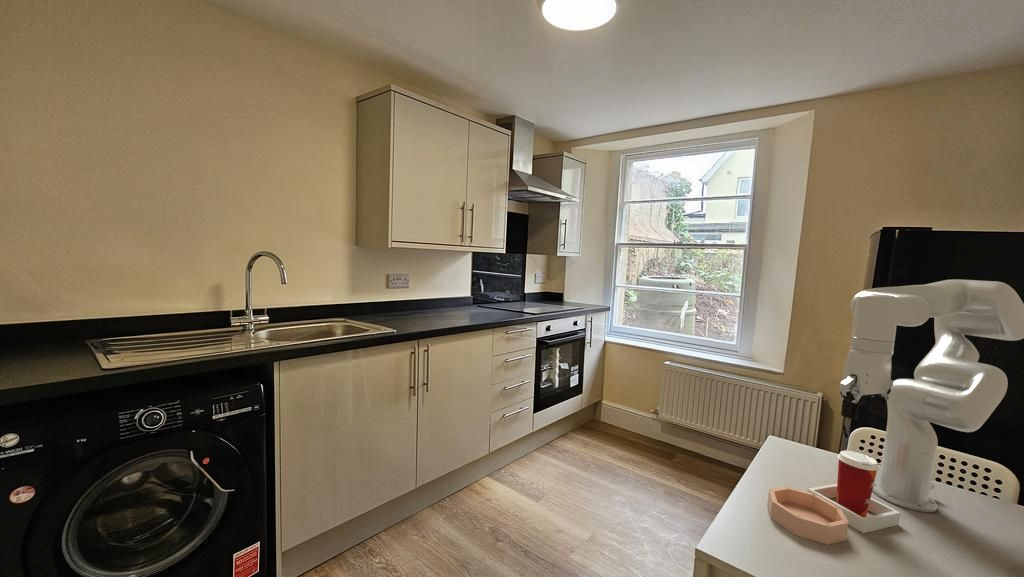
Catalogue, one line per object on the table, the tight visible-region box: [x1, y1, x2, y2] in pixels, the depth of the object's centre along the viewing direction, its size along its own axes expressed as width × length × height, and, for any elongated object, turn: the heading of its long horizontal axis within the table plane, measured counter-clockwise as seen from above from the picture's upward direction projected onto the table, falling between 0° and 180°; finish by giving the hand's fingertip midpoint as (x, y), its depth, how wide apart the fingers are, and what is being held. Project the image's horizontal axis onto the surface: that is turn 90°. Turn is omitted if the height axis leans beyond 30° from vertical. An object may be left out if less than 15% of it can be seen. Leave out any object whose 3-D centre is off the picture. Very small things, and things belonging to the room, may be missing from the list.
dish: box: [766, 486, 849, 545], centre depth 92 cm, size 14×14×4 cm
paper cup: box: [835, 449, 880, 518], centre depth 97 cm, size 8×8×14 cm
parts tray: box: [806, 483, 901, 534], centre depth 98 cm, size 13×13×3 cm
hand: (862, 416), depth 96 cm, fingers open, 9 cm apart
